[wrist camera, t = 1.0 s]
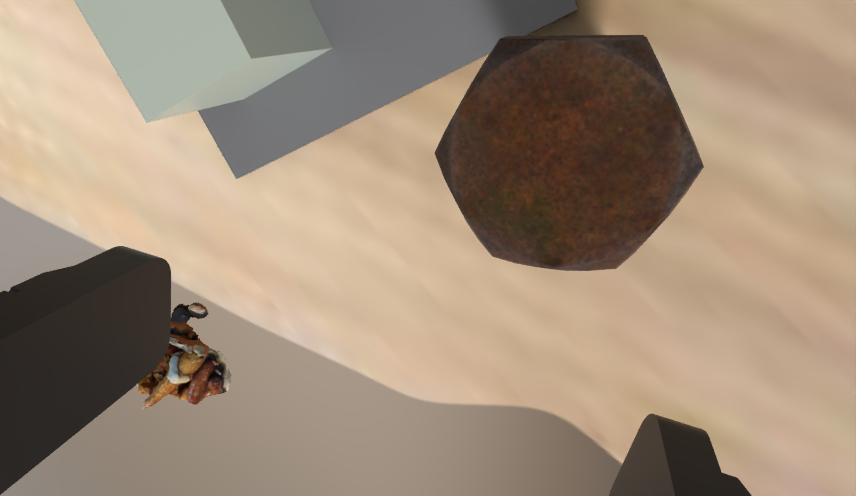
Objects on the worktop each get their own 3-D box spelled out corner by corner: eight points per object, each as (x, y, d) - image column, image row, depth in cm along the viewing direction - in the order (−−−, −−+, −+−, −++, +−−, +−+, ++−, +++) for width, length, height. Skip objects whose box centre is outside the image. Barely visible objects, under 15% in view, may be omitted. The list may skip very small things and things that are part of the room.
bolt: (588, 165, 26) (578, 320, 13) (500, 109, 26) (401, 206, 13) (670, 55, 23) (762, 108, 10) (571, -7, 24) (535, -32, 10)
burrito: (92, 336, 42) (51, 362, 39) (202, 298, 37) (165, 324, 34) (139, 406, 44) (104, 436, 41) (250, 378, 39) (219, 410, 36)
